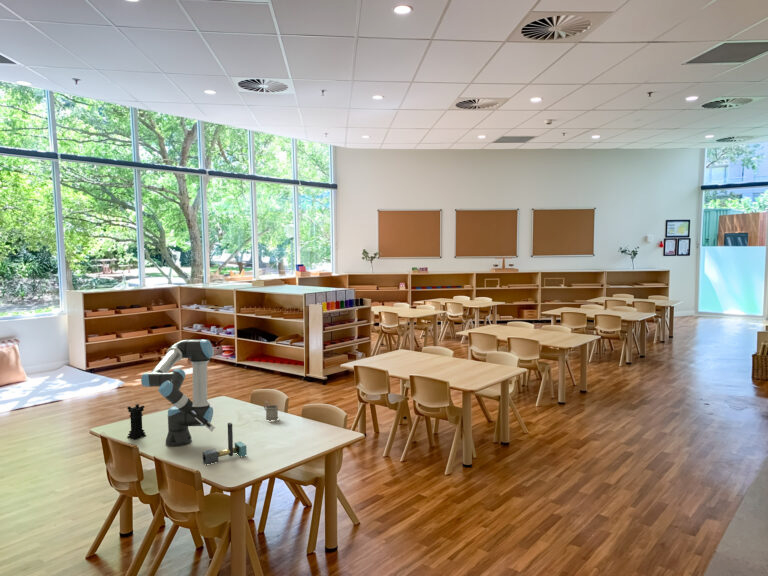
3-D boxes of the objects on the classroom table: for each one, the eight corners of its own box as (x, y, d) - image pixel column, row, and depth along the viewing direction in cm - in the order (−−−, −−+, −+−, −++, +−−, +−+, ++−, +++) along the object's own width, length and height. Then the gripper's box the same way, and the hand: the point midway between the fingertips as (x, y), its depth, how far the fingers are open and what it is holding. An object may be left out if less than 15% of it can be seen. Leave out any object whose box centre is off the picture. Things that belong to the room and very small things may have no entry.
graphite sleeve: (202, 462, 287) (202, 451, 286) (214, 459, 291) (214, 448, 291) (206, 465, 282) (205, 454, 282) (218, 462, 287) (218, 451, 286)
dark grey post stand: (212, 459, 289) (211, 426, 288) (239, 452, 299) (239, 420, 298) (214, 460, 286) (213, 427, 285) (241, 453, 297) (241, 421, 296)
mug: (281, 419, 361) (281, 403, 360) (270, 423, 354) (270, 406, 353) (269, 415, 371) (269, 399, 370) (258, 418, 363) (258, 402, 363)
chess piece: (138, 433, 334) (137, 404, 333) (146, 435, 330) (145, 405, 328) (127, 437, 327) (126, 407, 326) (134, 439, 323) (133, 409, 322)
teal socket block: (234, 453, 300) (234, 442, 300) (240, 451, 302) (240, 441, 302) (240, 457, 293) (240, 447, 293) (246, 456, 296) (246, 445, 295)
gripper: (170, 403, 284) (196, 425, 294) (185, 414, 265) (212, 437, 275) (180, 393, 288) (205, 415, 298) (196, 403, 269) (222, 426, 279)
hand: (208, 426), depth 287 cm, fingers open, 13 cm apart
